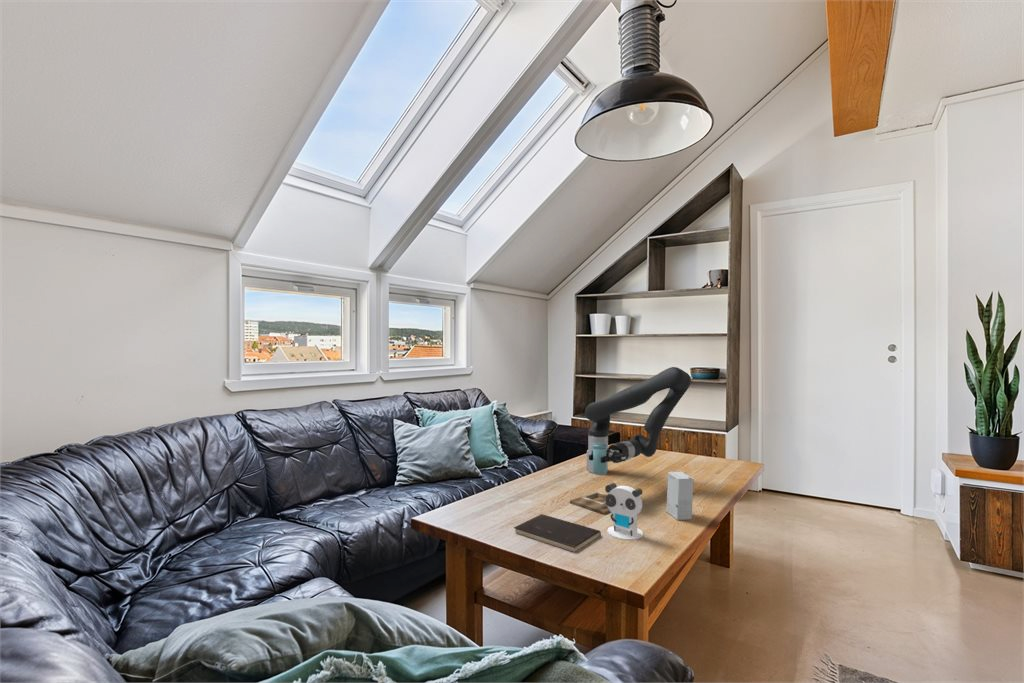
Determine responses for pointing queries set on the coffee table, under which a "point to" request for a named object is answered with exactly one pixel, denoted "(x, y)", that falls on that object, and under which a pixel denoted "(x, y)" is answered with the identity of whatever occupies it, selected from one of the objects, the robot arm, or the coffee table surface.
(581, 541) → the hardcover book
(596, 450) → the teal domed canister
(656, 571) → the coffee table surface
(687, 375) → the robot arm
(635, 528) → the panda figurine
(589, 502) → the collar base
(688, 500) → the skincare box
